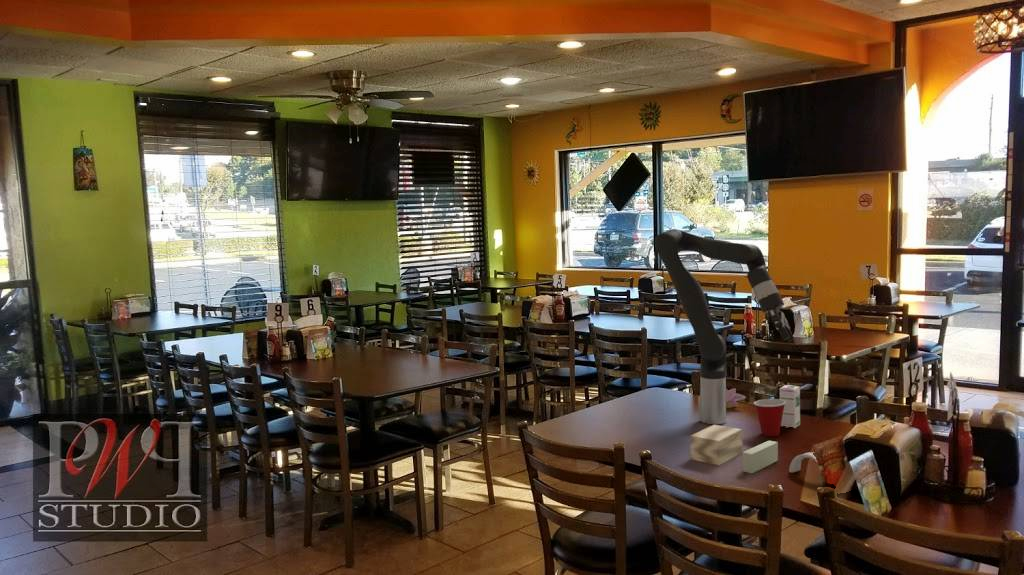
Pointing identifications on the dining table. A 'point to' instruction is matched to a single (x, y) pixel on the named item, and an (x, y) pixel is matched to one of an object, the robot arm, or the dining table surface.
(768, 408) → the plastic cup
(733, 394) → the lily
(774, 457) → the sage board
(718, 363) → the robot arm
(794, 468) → the white arch
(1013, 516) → the dining table surface
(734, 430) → the birch block
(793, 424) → the syrup box
